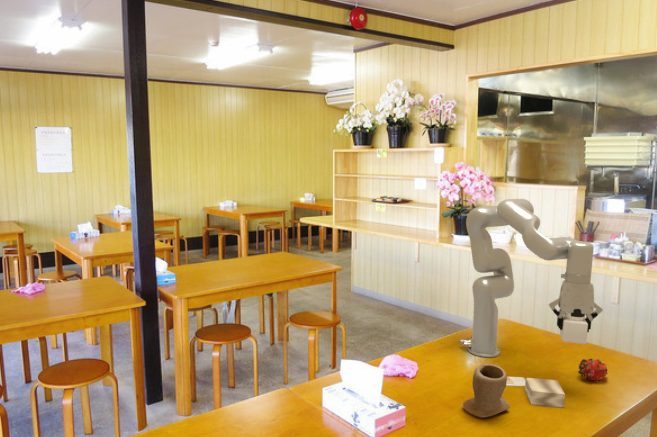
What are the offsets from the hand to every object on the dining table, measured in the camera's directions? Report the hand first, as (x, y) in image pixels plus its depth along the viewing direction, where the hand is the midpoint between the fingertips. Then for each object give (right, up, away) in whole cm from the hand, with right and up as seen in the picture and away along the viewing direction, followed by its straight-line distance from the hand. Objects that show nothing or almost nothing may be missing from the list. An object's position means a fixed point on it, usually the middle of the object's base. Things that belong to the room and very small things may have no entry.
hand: (573, 329), depth 168 cm
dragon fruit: (+14, -21, +14) cm, 29 cm away
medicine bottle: (0, -4, 0) cm, 4 cm away
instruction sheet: (-17, -21, +11) cm, 29 cm away
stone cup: (-32, -24, -10) cm, 41 cm away
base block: (-11, -23, -1) cm, 26 cm away
